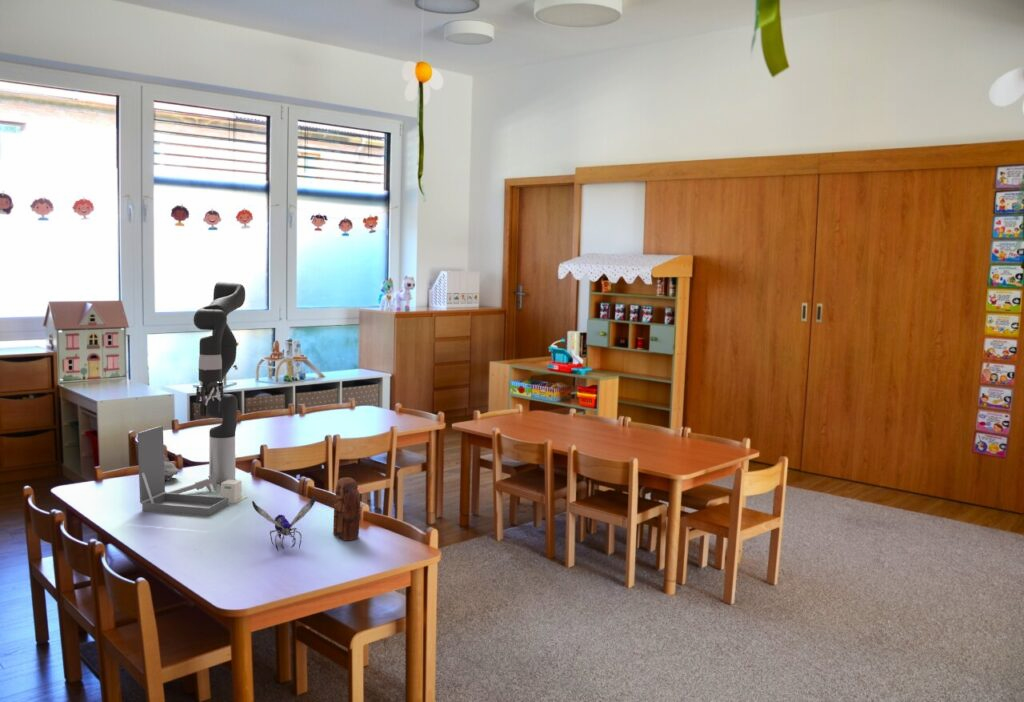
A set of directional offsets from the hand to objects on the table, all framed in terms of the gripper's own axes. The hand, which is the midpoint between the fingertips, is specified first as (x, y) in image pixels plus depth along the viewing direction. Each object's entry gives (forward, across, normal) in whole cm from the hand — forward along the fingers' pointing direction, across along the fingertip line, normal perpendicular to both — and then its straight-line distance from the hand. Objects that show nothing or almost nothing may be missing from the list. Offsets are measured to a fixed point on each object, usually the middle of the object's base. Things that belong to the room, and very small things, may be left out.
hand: (210, 413), depth 283 cm
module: (+30, 0, +8) cm, 31 cm away
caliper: (+31, -3, -10) cm, 32 cm away
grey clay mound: (+30, -18, -29) cm, 45 cm away
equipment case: (+30, +14, -1) cm, 33 cm away
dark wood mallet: (+30, +26, +59) cm, 71 cm away
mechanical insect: (+30, +38, +44) cm, 66 cm away
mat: (+30, 0, +8) cm, 31 cm away
